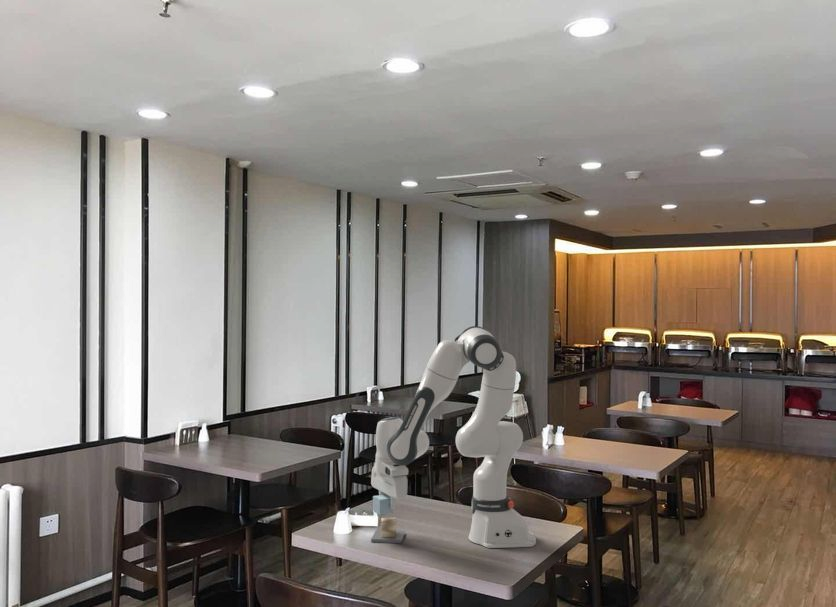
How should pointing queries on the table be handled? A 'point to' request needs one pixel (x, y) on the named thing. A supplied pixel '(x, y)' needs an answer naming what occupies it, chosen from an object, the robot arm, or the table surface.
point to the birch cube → (388, 527)
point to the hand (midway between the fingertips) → (388, 506)
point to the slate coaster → (396, 539)
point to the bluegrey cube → (382, 504)
